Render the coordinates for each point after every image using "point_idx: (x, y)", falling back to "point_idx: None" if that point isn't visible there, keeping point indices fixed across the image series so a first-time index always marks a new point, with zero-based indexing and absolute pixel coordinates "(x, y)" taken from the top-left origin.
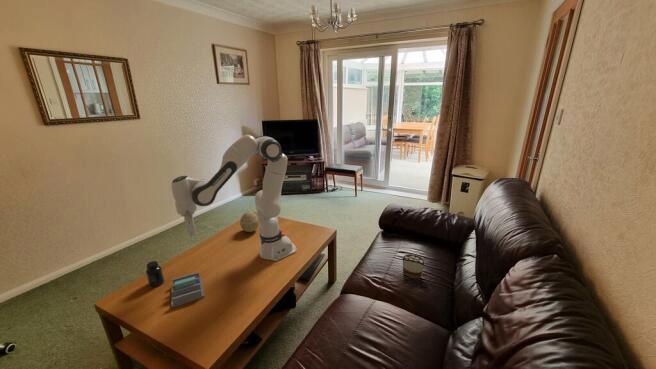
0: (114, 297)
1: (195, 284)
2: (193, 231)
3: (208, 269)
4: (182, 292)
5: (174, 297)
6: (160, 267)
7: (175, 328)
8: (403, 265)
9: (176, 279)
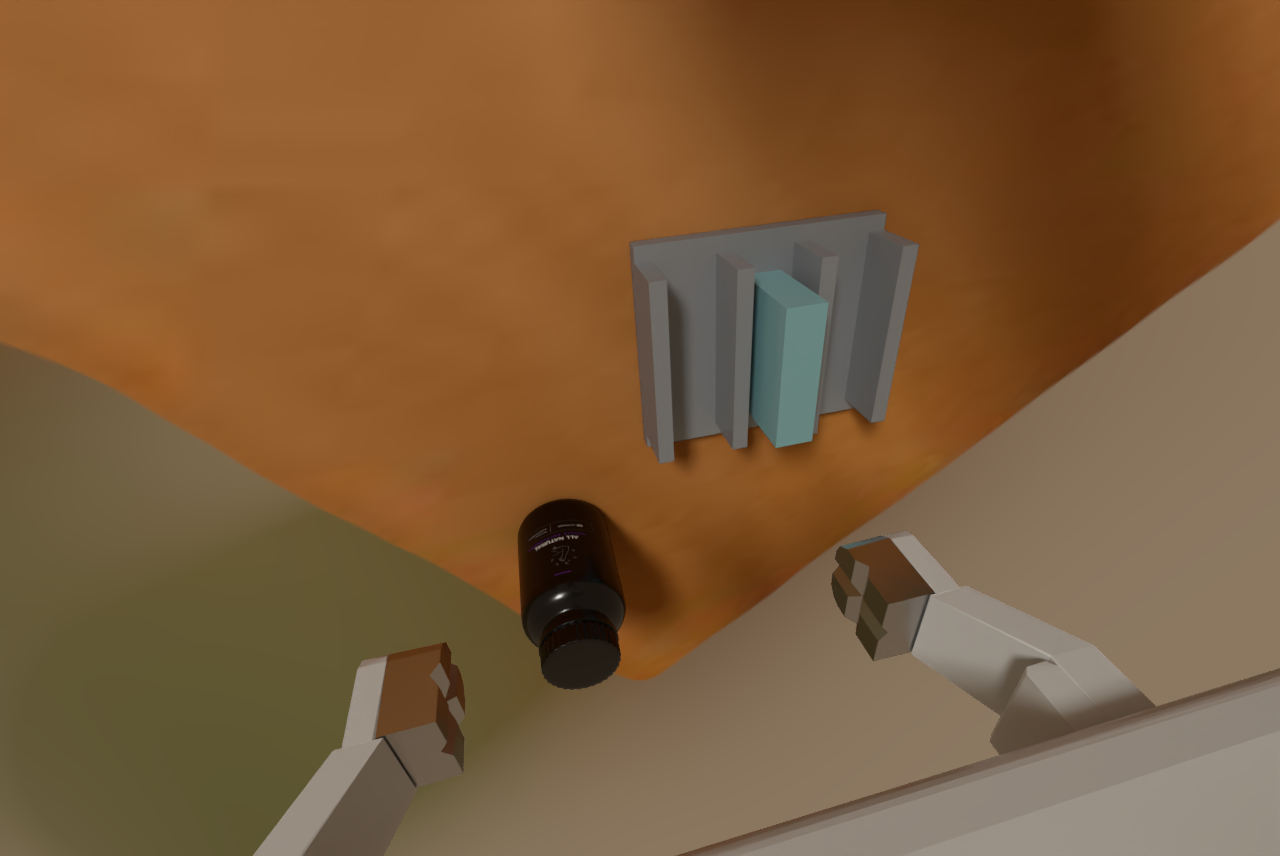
0: None
1: (822, 290)
2: (1064, 642)
3: (508, 181)
4: None
5: (875, 411)
6: (573, 587)
7: (1011, 354)
8: None
9: (672, 436)
